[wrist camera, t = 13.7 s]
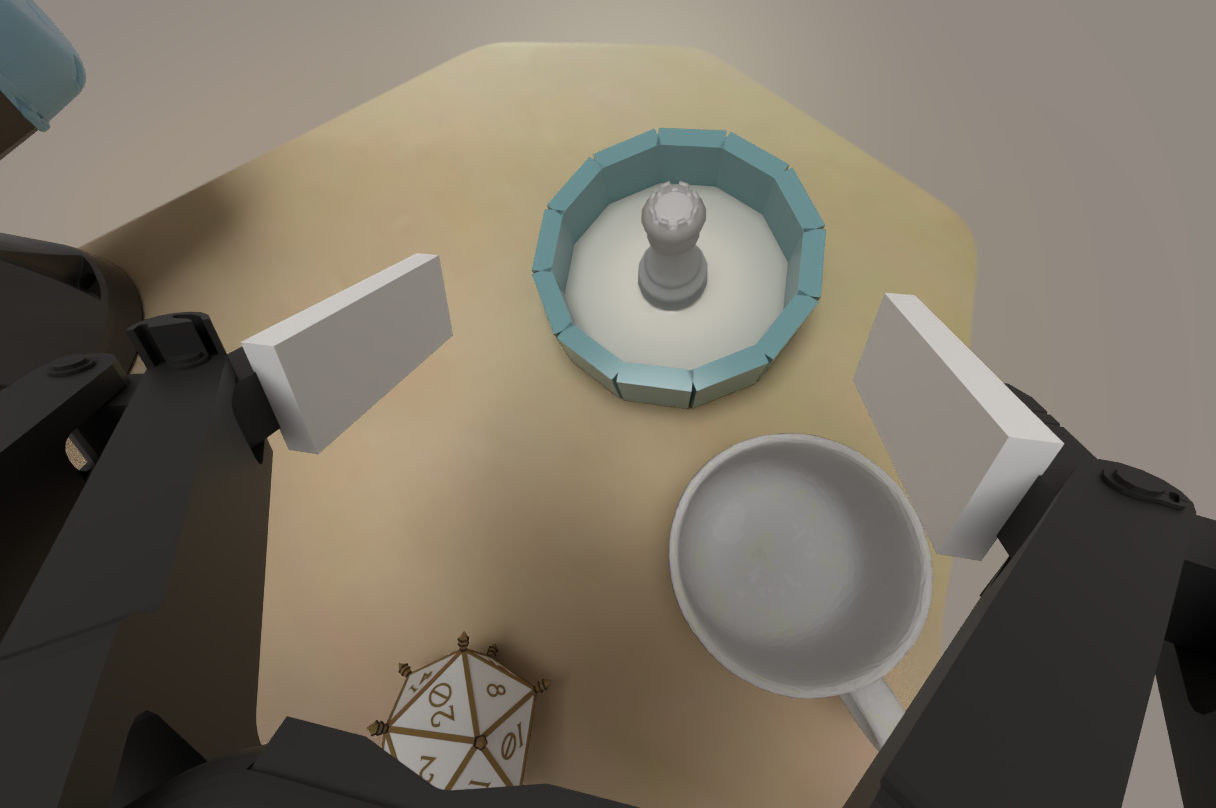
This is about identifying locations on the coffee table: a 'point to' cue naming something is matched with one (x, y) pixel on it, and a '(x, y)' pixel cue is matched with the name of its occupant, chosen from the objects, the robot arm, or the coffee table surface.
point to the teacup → (803, 572)
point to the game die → (462, 721)
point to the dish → (731, 243)
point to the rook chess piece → (673, 247)
